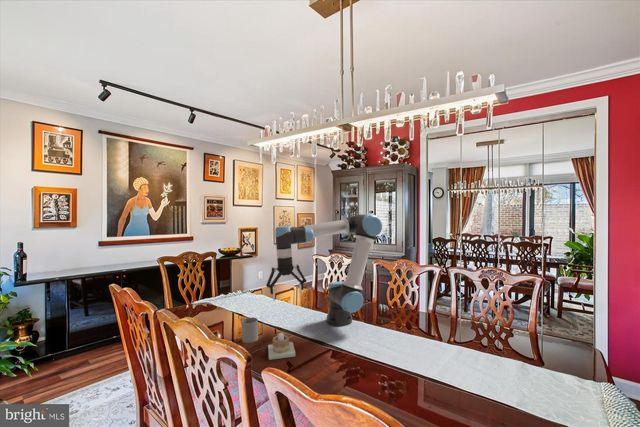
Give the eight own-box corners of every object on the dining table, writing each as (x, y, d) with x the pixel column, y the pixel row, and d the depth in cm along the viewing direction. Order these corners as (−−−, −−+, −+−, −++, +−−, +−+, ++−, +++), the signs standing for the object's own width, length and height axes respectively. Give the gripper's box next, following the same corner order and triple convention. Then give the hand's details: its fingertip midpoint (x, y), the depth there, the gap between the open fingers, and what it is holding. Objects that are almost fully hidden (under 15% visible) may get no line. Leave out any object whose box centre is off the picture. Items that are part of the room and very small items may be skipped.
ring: (288, 344, 148) (288, 334, 148) (290, 351, 141) (289, 340, 141) (272, 346, 147) (272, 336, 147) (273, 353, 140) (272, 342, 139)
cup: (254, 343, 155) (253, 323, 155) (239, 342, 157) (238, 323, 156) (260, 336, 163) (260, 317, 163) (246, 335, 165) (245, 317, 165)
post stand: (292, 345, 151) (292, 327, 151) (295, 356, 139) (294, 337, 139) (268, 348, 149) (267, 330, 149) (268, 359, 137) (268, 341, 137)
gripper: (307, 253, 161) (310, 292, 162) (259, 258, 155) (262, 299, 156) (310, 255, 154) (313, 296, 154) (259, 260, 148) (263, 304, 148)
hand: (287, 298), depth 155 cm, fingers open, 13 cm apart
